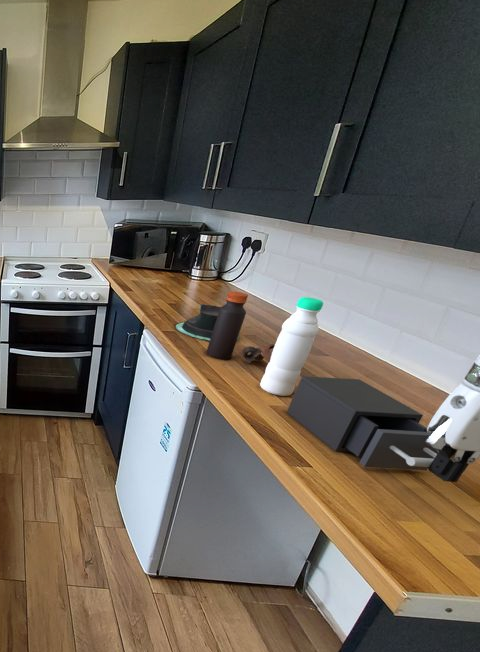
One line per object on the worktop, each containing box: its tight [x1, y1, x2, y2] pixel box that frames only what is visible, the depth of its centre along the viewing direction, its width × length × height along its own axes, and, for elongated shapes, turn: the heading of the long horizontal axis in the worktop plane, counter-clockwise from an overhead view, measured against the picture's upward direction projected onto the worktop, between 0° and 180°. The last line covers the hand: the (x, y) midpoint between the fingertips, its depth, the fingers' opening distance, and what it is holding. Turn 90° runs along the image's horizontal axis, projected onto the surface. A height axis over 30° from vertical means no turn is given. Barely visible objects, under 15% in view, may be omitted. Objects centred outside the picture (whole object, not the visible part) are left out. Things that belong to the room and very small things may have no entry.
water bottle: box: [259, 296, 324, 397], centre depth 100 cm, size 7×7×25 cm
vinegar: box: [206, 291, 249, 361], centre depth 121 cm, size 7×7×20 cm
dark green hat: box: [175, 303, 240, 341], centre depth 143 cm, size 15×19×20 cm
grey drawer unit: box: [286, 375, 424, 453], centre depth 87 cm, size 15×13×10 cm
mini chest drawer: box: [343, 415, 438, 472], centre depth 78 cm, size 18×12×8 cm, turn 177°
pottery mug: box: [241, 343, 276, 365], centre depth 117 cm, size 12×10×8 cm
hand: (441, 475), depth 69 cm, fingers closed
